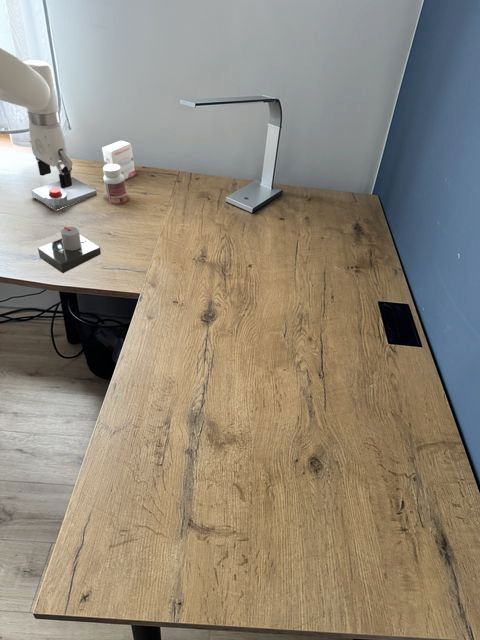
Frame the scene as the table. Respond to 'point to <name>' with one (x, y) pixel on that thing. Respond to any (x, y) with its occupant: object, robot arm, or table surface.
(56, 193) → the button
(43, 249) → the base plate
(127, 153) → the ink box
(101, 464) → the table surface
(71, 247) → the hob knob
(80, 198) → the block
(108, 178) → the pill bottle
